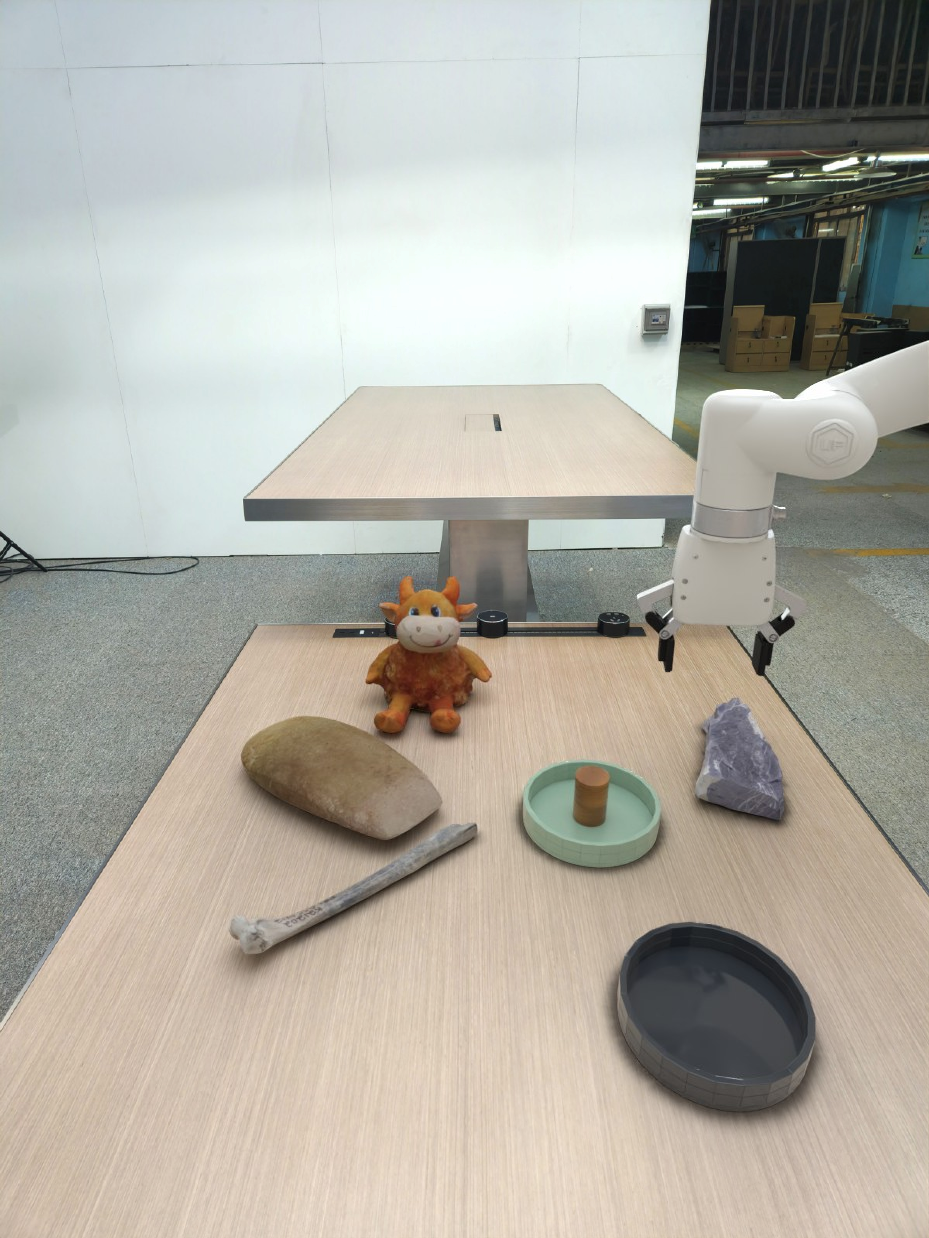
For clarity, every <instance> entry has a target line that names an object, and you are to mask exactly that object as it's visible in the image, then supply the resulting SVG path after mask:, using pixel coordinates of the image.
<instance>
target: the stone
mask: <svg viewBox="0 0 929 1238" xmlns="http://www.w3.org/2000/svg"><path fill="white" fill-rule="evenodd" d="M240 761H241V764H242V766H243V768H244V769H245V770H246V772H247V774H248V775H249V776H250V777H251V778H252V780H253V781H254V782H255V783H256V784H257V785H259V787H262V788H263V789H264V790H265V791H267V792H268V793H270V794H272V795H273V796H275V797H276V798H277V799H280V800H281V801H283V802H286V803H287V804H289V805H292V806H294V807H296V808H298V809H301V810H303V811H305V812H307V813H309V814H311V815H314V816H317V817H318V818H321V819H323V820H326V821H328V822H331V823H335V824H337V825H339V826H341V827H344V828H346V829H349V830H352V831H354V832H355V833H360V834H362V835H365V836H369V837H372V838H374V839H378V840H381V841H388V840H391V839H395V838H396V837H399V836H400V835H402V834H404V833H406V832H408V831H409V830H411V829H413V828H414V827H416V826H417V825H418V824H420V823H421V822H422V821H424V820H425V819H427V818H428V817H429V816H431V815H432V814H433V813H434V812H435V811H437V810H438V809H439V808H440V807H441V806H442V804H443V803H444V800H443V798H442V796H441V794H440V793H439V791H438V789H437V788H436V787H435V785H434V784H433V782H432V781H431V780H430V779H429V777H428V775H426V773H425V772H423V770H421V768H419V767H418V766H417V765H416V764H415V763H413V762H412V761H411V760H409V759H408V758H407V757H405V756H404V755H403V754H401V753H400V752H399V751H397V750H396V749H395V748H393V746H391V745H389V744H388V743H386V742H385V741H383V740H382V739H379V738H378V737H376V736H375V735H373V734H371V733H369V732H367V731H365V730H363V729H361V728H359V727H356V726H354V725H351V724H349V723H346V722H343V721H339V720H337V719H333V718H328V717H323V716H315V715H314V716H312V715H298V716H293V717H290V718H287V719H284V720H281V721H278V722H275V723H274V724H271V725H269V726H267V727H265V728H263V729H260V731H258V732H257V733H255V734H254V735H252V736H251V737H250V738H249V739H248V740H247V741H246V743H245V744H244V746H243V747H242V750H241V753H240Z"/></svg>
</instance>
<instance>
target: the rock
mask: <svg viewBox="0 0 929 1238" xmlns="http://www.w3.org/2000/svg"><path fill="white" fill-rule="evenodd" d="M700 726H701V728H702V730H704V733H706V735H705V738H704V739H705V740H704V748H705V751H704V757H703V761H702V765H701V769H700V773H699V775H698V778H697V780H696V783H695V788H694V794H695V797H696V799H701V800H703V801H705V802H709V803H712V804H717V805H719V806H722V807H725V808H727V809H729V810H734V811H738V812H743V813H747V814H751V815H755V816H759V817H760V816H761V817H765V818H767V819H771V820H775V821H781V819H782V815H783V813H784V811H785V808H786V807H785V795H784V787H783V782H782V780H783V770H782V769H781V766H780V761H779V758H778V756H777V755H776V754H775V752H774V751H773V749H772V746H771V745H770V743H769V742H768V740H767V739H766V736H765V734H764V733H763V731H762V729H761V727H760V726H759V724H758V722H757V719H756V718H755V717H754V715H753V714H752V710H751V708H750V706H749V704H748V705H747V704H746V703H743V702H742V700H741V698H740V697H732V698H730V699H729V701H728V702H722V703H719V704H716V707H715V709H714V712H713V713H712V715H710V716H709V717H707V718H706V719H705V720H704V721H703V723H701V724H700Z"/></svg>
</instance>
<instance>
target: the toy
mask: <svg viewBox="0 0 929 1238" xmlns="http://www.w3.org/2000/svg"><path fill="white" fill-rule="evenodd" d="M413 583H414V579H413V577H412V576H410V575H408V576H406V577H404V578H402V580H401V581H400V583H399V586H398V599H399V604H397V603H393V602H380V603H379V605H378V607H379V608H380V609H381V612H382V614H383V615H384V617H385V618H386V620H387V621H388V622H391V623H393V624H394V630H395V634H396V639H397V642H395V643H392V644H391V645H388V646H387V647H385V648H384V649H383V650H382V651H381V652H379V653H378V655H377V656H376V657H375V659H374V660H373V661H372V663H371V664H370V665H369V668H368V670H367V675H366V679H365V684H366V685H373V684H374V685H377V686H380V687H381V688H382V689H383V690H384V692H385V693H384V698H385V700H387V702H388V704H389V705H388V708H387V710H384V711H383V710H382V711H379V712H376V713H375V716H374V718H373V724H374V727H375V728H376V729H377V730H379V731H381V732H384V733H387V734H388V733H390V734H395V733H399V732H401V731H402V730H403V729H404V727H405V724H406V723H407V719H408V717H409V715H410V712H411V711H410V710H416V711H421V712H426V713H429V712H430V713H431V715H430V717H429V725H430V727H432V729H433V730H435V731H436V732H439V733H441V734H451V733H453V732H454V731H455V730H456V729H457V728H459V727H460V725H461V723H462V718H461V716H460V714H459V713H458V712H457V711H455V709H454V707H460V706H462V705H464V704H466V703H467V702H468V700H469V694H470V693H471V692H473V689H474V687H473V683H474V681H475V679H477V680H479V681H480V682H483V683H488V682H489V681H490V679H491V678H492V677H493V673H492V672H491V670H490V669H489V667H488V666H487V664H486V662H485V661H484V660H483V659H482V658H481V656H480V655H479V654H478V653H476V652H475V651H473V650H472V649H470V648H468V647H466V646H462V645H459V644H458V642H459V639H460V636H461V630H462V629H461V623H462V622H464V620H467V619H469V618H470V617H472V615H473V613H474V611H475V610H476V609H477V608H478V604H476V603H475V602H472V603H469V604H457V602H458V600H459V597H460V594H461V593H460V592H461V587H460V583H459V580H458V579H457V577H456V576H454V575H452V576H449V577H447V578H446V583H445V588H444V589H443V590H442V591H441V592H439V591H435V590H432V589H429V588H427V589H425V588H424V589H421V590H418V591H417V592H415V589H414V585H413Z"/></svg>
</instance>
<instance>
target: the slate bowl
mask: <svg viewBox="0 0 929 1238" xmlns="http://www.w3.org/2000/svg"><path fill="white" fill-rule="evenodd" d="M616 993H617V994H616V995H617V996H616V997H617V1000H616V1001H617V1002H616V1003H617V1006H616V1009H617V1017H618V1022H619V1026H620V1029H621V1031H622V1035H623V1036H624V1039H625V1041H626V1043H627V1045H628V1047H629V1048H630V1050H631V1052H632V1053H633V1055H634V1056H635V1058H636V1059H637V1060H638V1062H639V1063H640V1064H641V1065H642V1066H643V1067H644V1068H645V1070H646V1071H647V1072H648V1073H649V1074H650V1075H651V1076H652V1077H654V1079H656V1080H657V1081H658V1082H660V1083H661V1084H662V1085H663V1086H665V1087H666V1088H667V1089H670V1091H672V1092H673V1093H675V1094H677V1095H679V1096H681V1097H682V1098H684V1099H687V1100H688V1101H691V1102H693V1103H696V1104H697V1105H700V1106H704V1107H707V1108H711V1109H716V1110H720V1111H726V1112H738V1113H739V1112H740V1113H741V1112H754V1111H759V1110H763V1109H766V1108H770V1107H772V1106H775V1105H777V1104H778V1103H780V1102H782V1101H784V1100H786V1099H787V1098H788V1097H789V1096H790V1095H791V1094H793V1093H794V1091H796V1089H797V1088H798V1086H800V1085H801V1082H802V1081H803V1079H804V1077H805V1074H806V1071H807V1068H808V1066H809V1063H810V1060H811V1057H812V1053H813V1051H814V1046H815V1043H816V1037H817V1036H816V1031H817V1030H816V1029H817V1028H816V1027H817V1025H816V1022H817V1021H816V1020H817V1019H816V1018H817V1017H816V1014H815V1010H814V1008H813V1005H812V1004H813V1003H812V1001H811V998H810V995H809V993H808V992H807V990H806V989H805V987H804V985H803V983H802V982H801V980H800V979H799V977H798V976H797V974H796V973H795V972H794V970H792V969H791V968H790V967H789V966H788V965H787V964H786V962H785V961H784V960H783V959H782V958H781V957H780V956H778V955H777V954H776V953H774V952H773V951H772V950H771V949H769V948H768V947H766V946H765V945H764V944H762V943H760V941H758V940H755V938H752V937H749V936H748V935H746V934H743V933H742V932H740V931H738V930H735V929H730V928H728V927H724V926H721V925H717V924H714V923H706V922H699V921H698V922H697V921H682V922H671V923H667V924H664V925H661V926H658V927H656V928H653V929H651V930H649V931H647V932H646V933H644V934H643V935H641V936H639V938H637V939H636V940H635V941H634V942H633V944H632V945H631V946H630V948H629V949H628V950H627V952H626V953H625V954H624V956H623V960H622V963H621V967H620V971H619V976H618V985H617V992H616Z"/></svg>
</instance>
